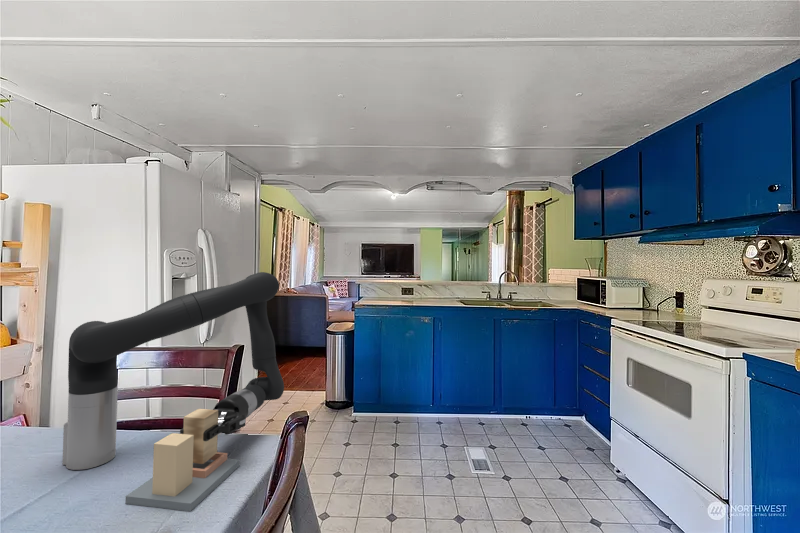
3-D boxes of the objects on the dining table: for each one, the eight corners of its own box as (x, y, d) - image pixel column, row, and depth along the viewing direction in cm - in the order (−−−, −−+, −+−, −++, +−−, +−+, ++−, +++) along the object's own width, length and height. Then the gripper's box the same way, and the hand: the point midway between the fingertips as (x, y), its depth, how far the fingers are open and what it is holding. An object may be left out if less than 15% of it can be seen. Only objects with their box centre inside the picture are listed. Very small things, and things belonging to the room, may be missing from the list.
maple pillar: (182, 461, 83) (183, 416, 83) (197, 451, 88) (198, 408, 88) (203, 463, 83) (204, 418, 83) (217, 452, 88) (218, 410, 88)
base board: (125, 503, 74) (127, 445, 74) (185, 460, 91) (186, 413, 91) (190, 511, 72) (192, 451, 72) (239, 465, 89) (240, 417, 89)
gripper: (211, 391, 101) (164, 416, 84) (262, 395, 99) (223, 421, 82) (211, 419, 101) (163, 450, 84) (261, 424, 99) (222, 455, 82)
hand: (193, 435), depth 83 cm, fingers closed on maple pillar, 5 cm apart
